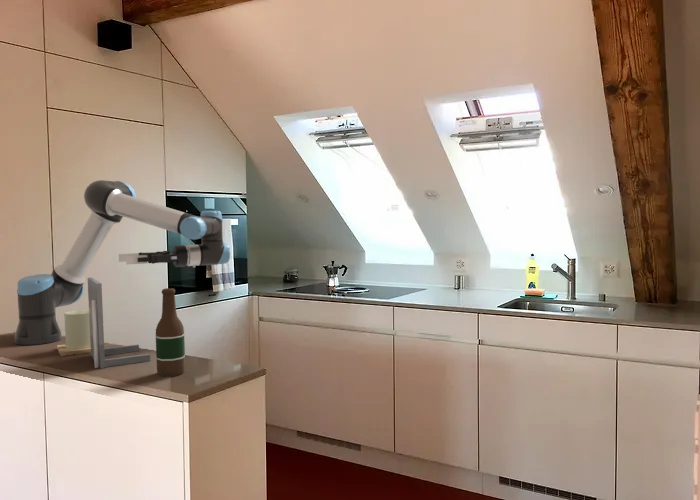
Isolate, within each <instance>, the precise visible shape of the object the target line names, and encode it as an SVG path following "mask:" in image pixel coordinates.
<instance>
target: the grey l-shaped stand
mask: <svg viewBox="0 0 700 500" xmlns="http://www.w3.org/2000/svg"><path fill="white" fill-rule="evenodd" d="M102 285H103V283H101V282H100V281H99V280H97V279H94V278H93V277H87V295H88V296H87V297H88V310H89V322H90V345H91V353H90V356H91V358H92V359H93V360H94V369H99V368H100V369H106V368H109V367H117V366H123V365H124V366H125V365H131V364H138V363H147V362H151V354H150V353H145V354H139V355H130V356H122V357H116V358H115V357H113V358H106V357H105V356H110V355H118V354H125V353H126V354H128V353H135V352H140V345H139V344H131V345H123V346H113V347H106V348H105V334H104V314H103V313H104V311H103V288H102Z"/></svg>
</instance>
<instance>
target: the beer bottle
mask: <svg viewBox="0 0 700 500" xmlns="http://www.w3.org/2000/svg"><path fill="white" fill-rule="evenodd" d="M175 293H176V289H175V288H172V287H170V288H167V287H166V288H163V289H161V294H162V305H161V307H162V308H161V309H162V311H161V318H160V319H159V321H158V323H157V325H156V328H155V354H156V358H155V359H156V370H157V371H156V373H157V375H158V376H161V377H165V378H166V377H176V376H180V375H183V374H184V373H185V372H186V349H185V348H186V347H185V345H186V344H185V328H184V325H183V323H182V321H181V319H180V318H179V317H178V313H177V306H176V297H175V295H176V294H175Z"/></svg>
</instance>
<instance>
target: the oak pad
mask: <svg viewBox="0 0 700 500" xmlns="http://www.w3.org/2000/svg"><path fill="white" fill-rule="evenodd" d="M65 346H66V343H64V344H57V345H56V348H57V352H58V353H59V355H60V357H65V356H66V355H67V356H74V355H73V354H75V355H82V354H89V353H90V354H91V347H89V348H84V349H67V348H65Z"/></svg>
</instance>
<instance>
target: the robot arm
mask: <svg viewBox="0 0 700 500" xmlns="http://www.w3.org/2000/svg"><path fill="white" fill-rule="evenodd" d="M83 198H84V199H83V200H84V203H85V205H86V206H87V207H88V209H90V211H91V214H90V215H89V216H88V219H87V220H86V222H85V224H84V225H83V227H82V229H81V231H80V233H79V234H78V236H77V238H76V239H75V241H74V243H73V245H72V246H71V248H70V250H69V251H68V254H67V255H66V257H65V258H64V261H63V262H62V264H60V265H59V264H58V265H56V266H55V267H54V269H53V270H52V272H51V274H49V273H41V274H40V273H38V274H34V275H27V276H24V277H22V278H20V279H19V280H18V281H17V290H16V294H17V306H18V307H17V308H18V324H17V327H16V330H15V334H14V340H13V341H14V344H15V345H20V346H29V345H30V346H32V345H43V344H49V343H53V342H54V343H55V342H57V341H61V340H62V331H61V328H60V326H59V324H58V322H57V319H56V308H60V307H64V306H65V307H66V306H69V305H72V304H74V303H76V302H78V301H79V300H80V299H81V298H82V296H83V295H84V291H85V286H84V285H85V281H86V279H85V278H86V277H85V273H86V272H87V271H88V268H89V267H90V265H91V264H92V261H93V260H94V258H95V256H96V254H97V253H98V252H99V250H100V248H101V247H102V245H103V243H104V242H105V239H106V238H107V236H108V234H109V233H110V231H111V230H112V227H114V225H116V224H119V223H120V222H121V221H122V219H123V218H127V219H130V220H133V221H135V222H140V223H143V224H146V225H149V226H153V227H156V228H159V229H163V230H166V231H170V232H172V233H176V234H179V235H182V236H183V237H184V238H185V239H189V240H194V241H195V240H199V239H201V244H199V243H198V244H186V245H184V244H182V245H181V244H180V245H179V244H178V245H174V246H173V248H172V252H171V251H168V250H163V251H155V252H133V253H132V252H129V253H118V262H119V263H120V262H121V263H123V262H126V265H140V264H141V265H143V264H152V265H153V264H161V263H163V264H164V263H165V264H166V263H167V264H169V263H171V262H172V263H173V265H174V266H175V268H182V267H186V266H187V267H192V268H193V269H195V268H196V266H217V265H224V264H227V263H228V262H229V261H230V258H231V250H230V248H231V247H230V245H229V244H228V243H224V241H223V216H222V212H221V211H220V210H202V211H201V212H200V216H197V215H194V214H191V213H187V212H184V211H181V210H177V209H174V208H170V207H167V206H165V205H161V204H157V203H154V202H151V201H148V200H145V199H142V198H138V197H137V194H136V191H135V190H134V188H133V187H132V186H131V185H130V184H129V183H127V182H124V181H120V180H114V181H113V180H112V181H111V180H103V179H102V180H101V179H100V180H95V181H92V182H91V183H89V184H88V186H86V188H85V190H84V194H83Z"/></svg>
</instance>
